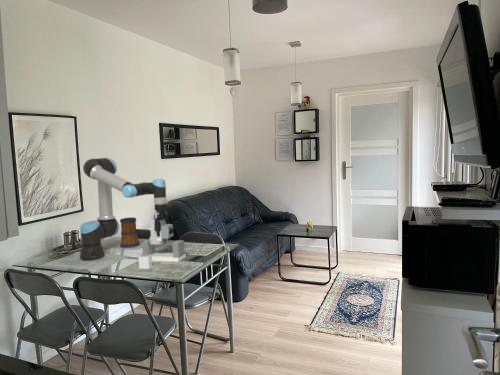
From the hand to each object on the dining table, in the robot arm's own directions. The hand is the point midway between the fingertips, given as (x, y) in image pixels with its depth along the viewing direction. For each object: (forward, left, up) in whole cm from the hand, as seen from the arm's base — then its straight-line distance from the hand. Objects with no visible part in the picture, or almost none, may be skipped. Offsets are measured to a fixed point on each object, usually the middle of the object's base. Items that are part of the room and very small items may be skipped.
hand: (163, 239), depth 241 cm
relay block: (-2, -18, -12) cm, 22 cm away
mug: (-43, +30, -12) cm, 54 cm away
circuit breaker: (0, 0, -2) cm, 2 cm away
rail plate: (0, 0, -12) cm, 12 cm away
